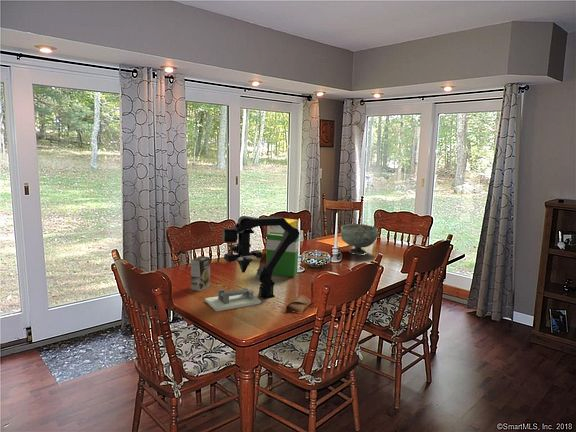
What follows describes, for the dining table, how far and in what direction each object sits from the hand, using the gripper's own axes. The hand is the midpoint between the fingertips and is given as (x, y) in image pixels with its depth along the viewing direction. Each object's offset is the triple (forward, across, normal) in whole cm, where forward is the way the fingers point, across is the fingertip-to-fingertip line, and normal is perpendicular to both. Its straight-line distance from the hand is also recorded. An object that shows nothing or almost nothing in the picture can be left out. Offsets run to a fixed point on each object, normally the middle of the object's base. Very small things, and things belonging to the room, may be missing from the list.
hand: (243, 272), depth 211 cm
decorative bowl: (+13, -114, -45) cm, 123 cm away
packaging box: (+13, -59, -61) cm, 86 cm away
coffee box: (+13, +14, -22) cm, 29 cm away
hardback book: (+13, -38, -26) cm, 48 cm away
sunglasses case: (+14, -20, +22) cm, 33 cm away
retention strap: (+9, +6, +4) cm, 11 cm away
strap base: (+13, +7, +4) cm, 15 cm away
